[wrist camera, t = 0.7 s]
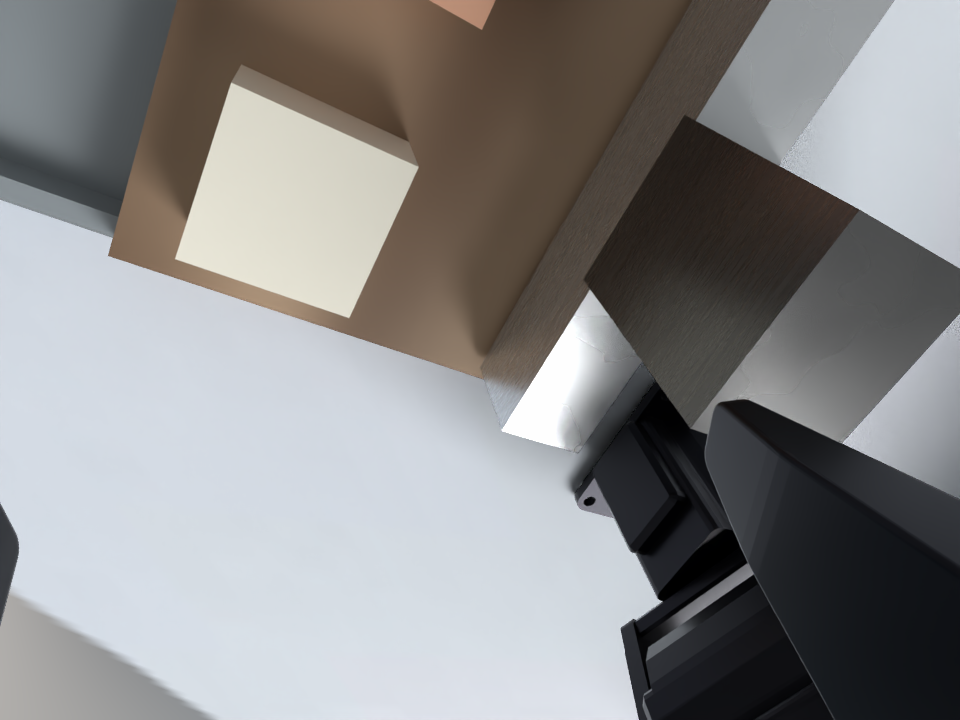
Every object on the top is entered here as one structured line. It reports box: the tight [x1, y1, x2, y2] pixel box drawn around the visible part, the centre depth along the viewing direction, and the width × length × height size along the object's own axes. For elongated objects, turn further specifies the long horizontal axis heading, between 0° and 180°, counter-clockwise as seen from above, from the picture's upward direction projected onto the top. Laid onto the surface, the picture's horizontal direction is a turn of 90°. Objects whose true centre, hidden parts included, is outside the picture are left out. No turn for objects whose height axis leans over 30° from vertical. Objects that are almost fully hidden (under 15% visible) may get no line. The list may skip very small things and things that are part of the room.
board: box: [108, 0, 692, 379], centre depth 17 cm, size 14×14×2 cm
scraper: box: [480, 0, 960, 453], centre depth 14 cm, size 3×13×8 cm, turn 152°
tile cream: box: [175, 64, 419, 318], centre depth 16 cm, size 4×4×2 cm
